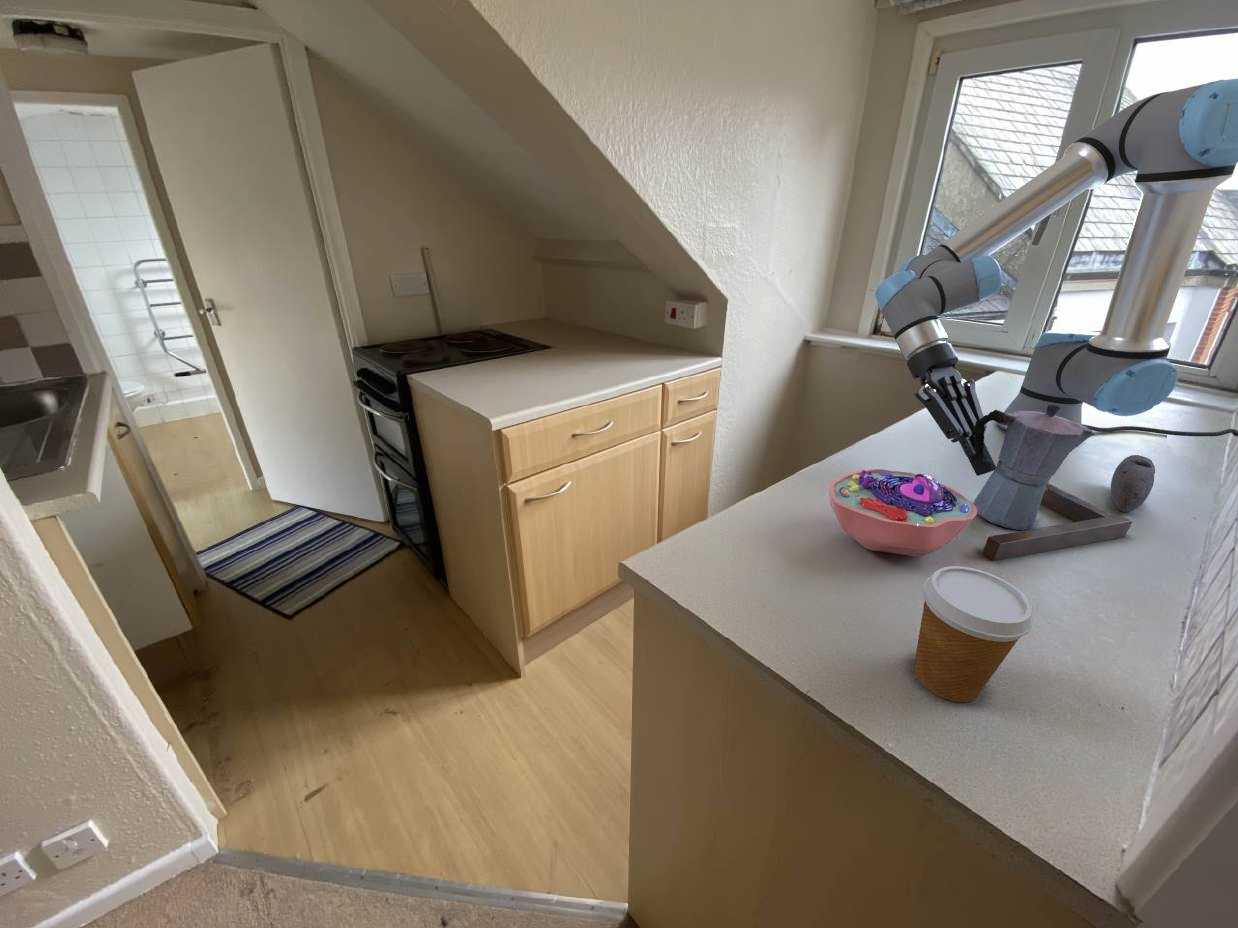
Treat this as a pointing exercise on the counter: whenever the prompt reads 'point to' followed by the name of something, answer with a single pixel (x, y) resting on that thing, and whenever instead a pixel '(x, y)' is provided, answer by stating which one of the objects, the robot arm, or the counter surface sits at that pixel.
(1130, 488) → the perforated stone tool
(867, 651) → the counter surface
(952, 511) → the cell model
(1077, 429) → the moka pot
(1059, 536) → the corner guide
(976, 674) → the disposable coffee cup
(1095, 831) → the counter surface
